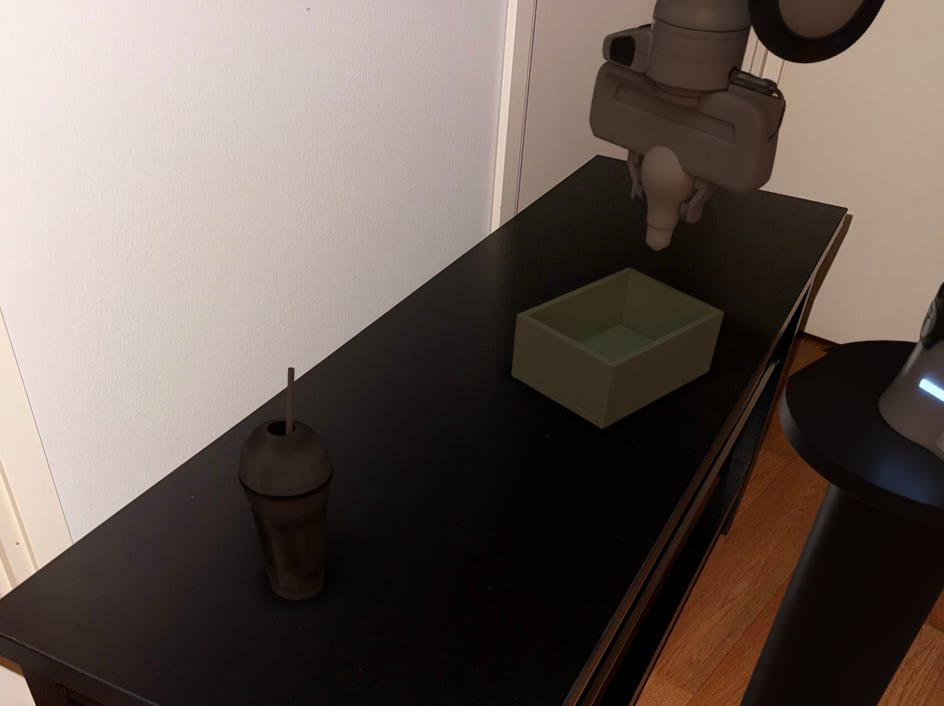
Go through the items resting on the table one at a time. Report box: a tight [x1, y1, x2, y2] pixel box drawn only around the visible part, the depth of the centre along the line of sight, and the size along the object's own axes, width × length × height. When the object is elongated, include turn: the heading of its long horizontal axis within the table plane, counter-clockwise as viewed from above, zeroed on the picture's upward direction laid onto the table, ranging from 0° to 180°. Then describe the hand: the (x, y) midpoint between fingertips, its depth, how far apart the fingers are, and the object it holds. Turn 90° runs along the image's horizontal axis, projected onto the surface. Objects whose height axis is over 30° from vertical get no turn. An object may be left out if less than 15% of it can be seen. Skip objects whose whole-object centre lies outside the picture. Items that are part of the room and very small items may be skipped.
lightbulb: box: [641, 146, 697, 251], centre depth 95 cm, size 6×6×11 cm
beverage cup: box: [237, 366, 334, 601], centre depth 73 cm, size 7×7×20 cm
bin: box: [511, 267, 725, 430], centre depth 104 cm, size 19×14×7 cm
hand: (664, 209), depth 96 cm, fingers closed on lightbulb, 5 cm apart
